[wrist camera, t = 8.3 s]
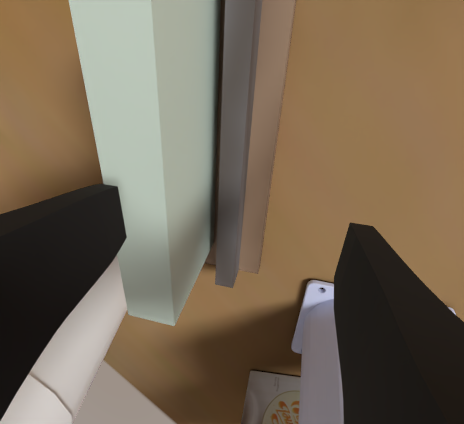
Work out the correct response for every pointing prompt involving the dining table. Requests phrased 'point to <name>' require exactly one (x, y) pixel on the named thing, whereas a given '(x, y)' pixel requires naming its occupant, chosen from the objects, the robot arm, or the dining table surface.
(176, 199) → the door panel
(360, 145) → the dining table surface
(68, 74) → the dining table surface
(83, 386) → the foam cup
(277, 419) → the coffee box
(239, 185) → the bottom track
